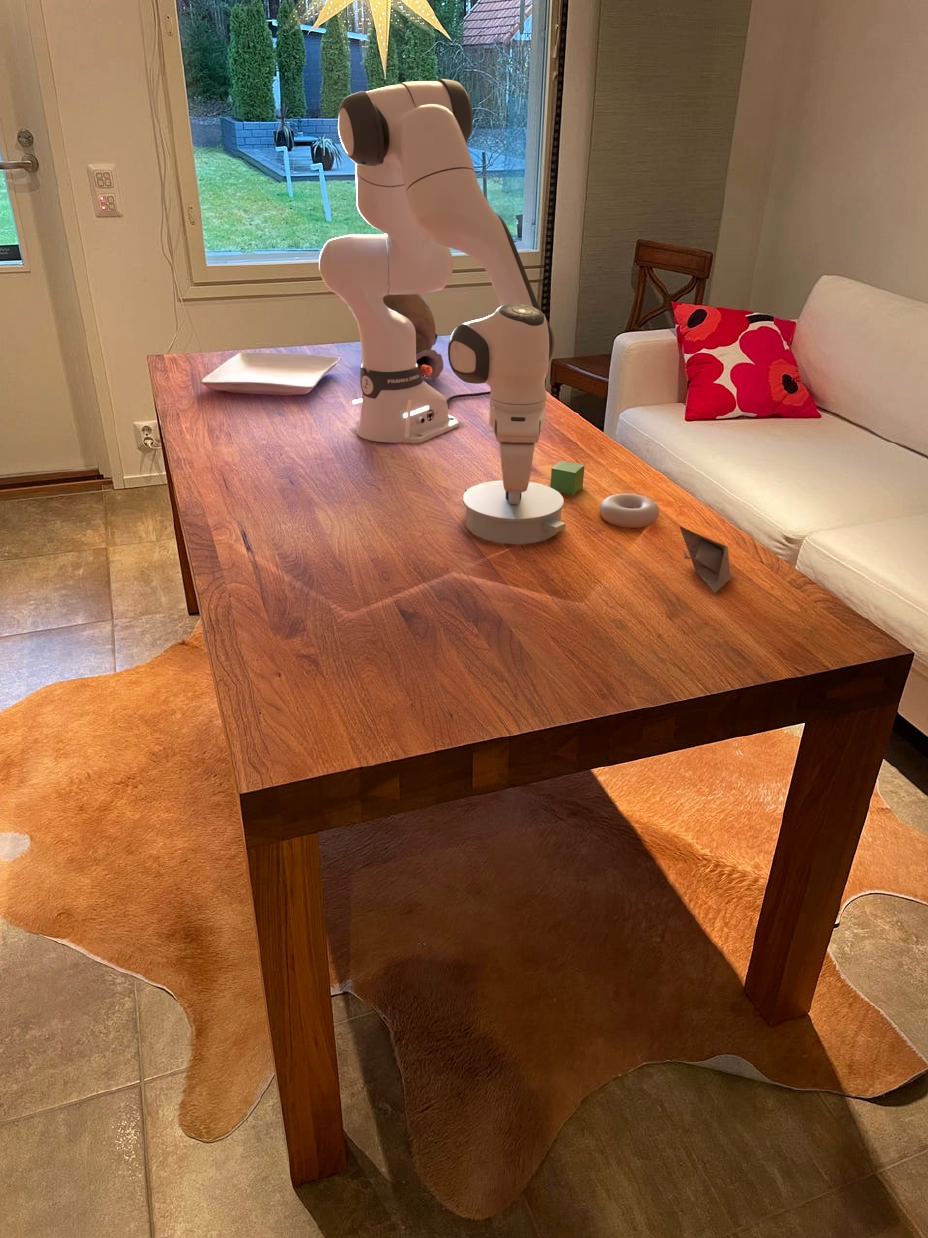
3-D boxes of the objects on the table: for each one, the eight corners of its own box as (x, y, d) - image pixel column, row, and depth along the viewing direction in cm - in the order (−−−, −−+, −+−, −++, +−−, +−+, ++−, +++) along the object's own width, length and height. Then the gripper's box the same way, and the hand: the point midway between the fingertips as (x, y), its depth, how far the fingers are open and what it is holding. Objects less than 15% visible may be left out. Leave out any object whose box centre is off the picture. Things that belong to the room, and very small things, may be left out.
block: (559, 483, 171) (561, 460, 168) (582, 488, 169) (584, 464, 167) (549, 492, 167) (551, 468, 165) (573, 497, 165) (575, 472, 163)
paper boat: (757, 578, 136) (719, 579, 130) (726, 602, 140) (689, 604, 135) (718, 513, 141) (680, 512, 135) (690, 539, 145) (652, 538, 139)
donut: (653, 536, 152) (662, 512, 160) (655, 517, 150) (664, 494, 158) (593, 527, 154) (605, 504, 162) (595, 508, 153) (607, 486, 161)
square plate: (240, 365, 240) (238, 350, 238) (342, 370, 236) (342, 355, 235) (200, 394, 216) (198, 378, 214) (313, 401, 213) (312, 384, 211)
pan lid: (512, 478, 162) (513, 450, 159) (584, 507, 152) (586, 477, 149) (442, 502, 152) (442, 473, 150) (513, 534, 142) (514, 503, 139)
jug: (358, 355, 250) (394, 404, 229) (343, 285, 236) (380, 331, 215) (427, 335, 254) (468, 381, 233) (417, 265, 240) (460, 308, 220)
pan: (501, 496, 165) (502, 472, 163) (591, 533, 152) (593, 508, 150) (436, 519, 156) (436, 495, 154) (525, 561, 143) (526, 534, 140)
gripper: (497, 394, 153) (495, 473, 160) (496, 434, 136) (493, 521, 143) (535, 395, 153) (531, 474, 160) (539, 436, 135) (534, 522, 142)
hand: (513, 496), depth 151 cm, fingers open, 3 cm apart
